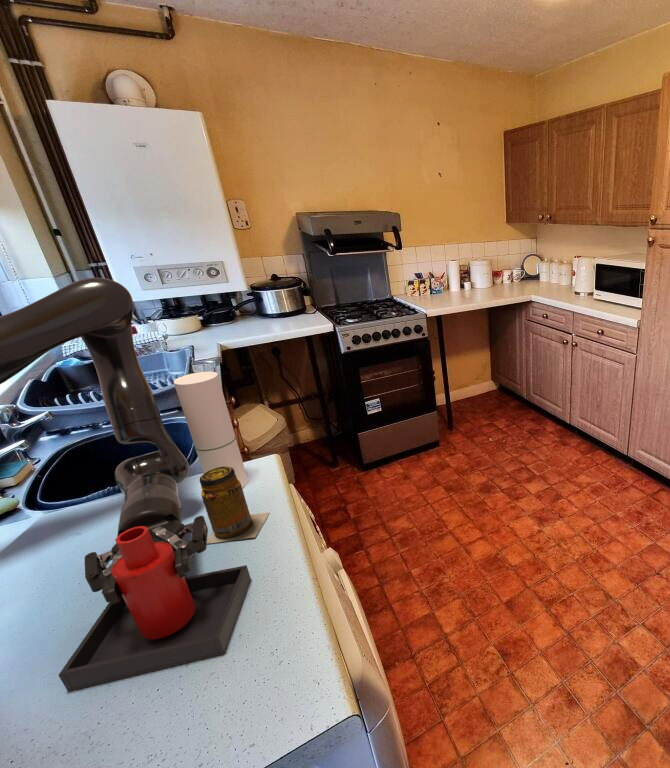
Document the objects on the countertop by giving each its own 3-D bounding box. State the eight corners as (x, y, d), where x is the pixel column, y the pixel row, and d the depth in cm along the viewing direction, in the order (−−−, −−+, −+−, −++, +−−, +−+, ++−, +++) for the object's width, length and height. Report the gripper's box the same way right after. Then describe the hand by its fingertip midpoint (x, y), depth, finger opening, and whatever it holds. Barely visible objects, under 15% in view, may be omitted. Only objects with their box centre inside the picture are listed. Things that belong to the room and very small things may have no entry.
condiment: (222, 518, 84) (205, 464, 80) (269, 513, 85) (255, 460, 81) (204, 545, 77) (184, 488, 73) (255, 538, 78) (238, 482, 74)
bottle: (131, 644, 58) (88, 557, 52) (153, 606, 63) (116, 523, 58) (185, 632, 59) (148, 546, 54) (202, 596, 65) (170, 514, 59)
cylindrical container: (242, 473, 99) (212, 369, 90) (252, 485, 94) (221, 377, 85) (206, 486, 94) (170, 378, 85) (214, 500, 89) (177, 387, 80)
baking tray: (67, 692, 54) (57, 675, 52) (124, 605, 65) (117, 590, 64) (224, 654, 58) (218, 638, 57) (251, 579, 70) (246, 564, 68)
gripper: (80, 516, 63) (60, 591, 51) (198, 481, 71) (206, 537, 59) (99, 556, 66) (85, 636, 54) (211, 518, 74) (221, 579, 62)
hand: (148, 584), depth 56 cm, fingers closed on bottle, 6 cm apart
